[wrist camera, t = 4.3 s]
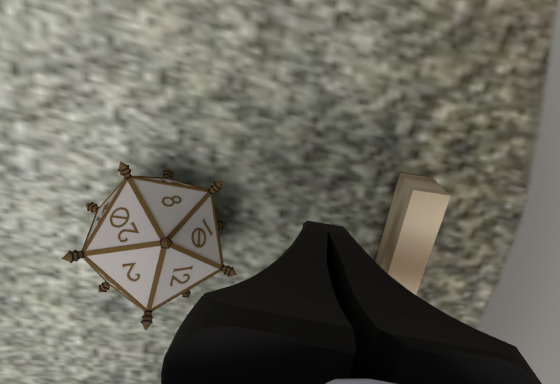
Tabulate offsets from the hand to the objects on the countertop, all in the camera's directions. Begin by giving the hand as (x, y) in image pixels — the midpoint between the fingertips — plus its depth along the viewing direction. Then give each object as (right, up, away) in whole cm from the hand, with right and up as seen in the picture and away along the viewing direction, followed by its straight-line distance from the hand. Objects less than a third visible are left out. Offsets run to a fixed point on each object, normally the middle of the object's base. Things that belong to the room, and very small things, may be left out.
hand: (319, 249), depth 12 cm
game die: (-8, +1, +12) cm, 14 cm away
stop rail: (+6, -2, +11) cm, 13 cm away
